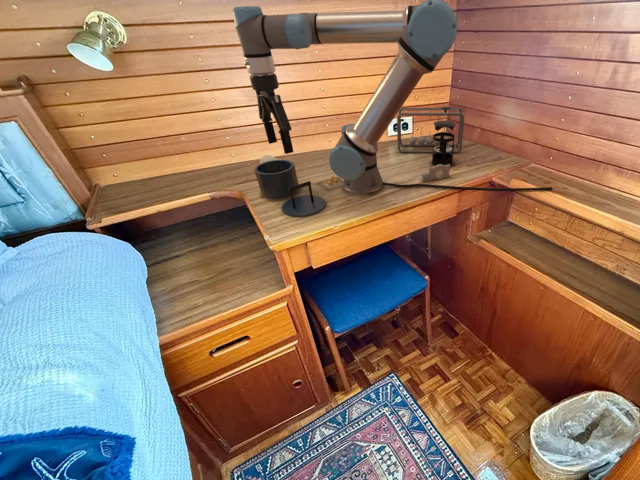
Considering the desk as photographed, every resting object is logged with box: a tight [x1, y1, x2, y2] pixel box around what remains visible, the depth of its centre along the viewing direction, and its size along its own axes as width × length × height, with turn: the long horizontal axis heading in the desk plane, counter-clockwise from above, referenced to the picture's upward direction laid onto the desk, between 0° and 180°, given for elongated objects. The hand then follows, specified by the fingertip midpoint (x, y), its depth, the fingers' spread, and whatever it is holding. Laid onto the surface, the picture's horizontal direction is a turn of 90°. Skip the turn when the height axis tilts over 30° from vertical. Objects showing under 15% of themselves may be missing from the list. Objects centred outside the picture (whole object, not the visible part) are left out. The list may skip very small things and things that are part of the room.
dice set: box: [324, 175, 339, 187], centre depth 130 cm, size 5×5×2 cm
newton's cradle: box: [396, 107, 465, 154], centre depth 155 cm, size 30×10×18 cm, turn 86°
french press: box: [431, 106, 456, 167], centre depth 139 cm, size 12×9×23 cm
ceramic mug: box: [258, 154, 281, 165], centre depth 138 cm, size 11×8×8 cm
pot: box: [253, 159, 300, 200], centre depth 123 cm, size 14×14×10 cm
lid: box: [281, 180, 327, 218], centre depth 113 cm, size 15×15×9 cm
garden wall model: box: [421, 164, 451, 182], centre depth 131 cm, size 12×2×6 cm, turn 110°
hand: (280, 147), depth 109 cm, fingers open, 13 cm apart
